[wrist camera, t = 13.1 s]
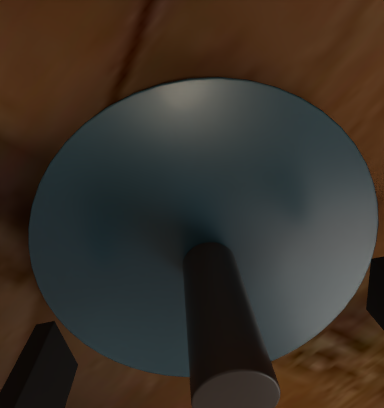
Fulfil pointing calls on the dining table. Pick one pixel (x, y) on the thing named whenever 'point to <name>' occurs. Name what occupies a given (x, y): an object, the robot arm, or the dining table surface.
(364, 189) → the lid
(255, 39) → the dining table surface
